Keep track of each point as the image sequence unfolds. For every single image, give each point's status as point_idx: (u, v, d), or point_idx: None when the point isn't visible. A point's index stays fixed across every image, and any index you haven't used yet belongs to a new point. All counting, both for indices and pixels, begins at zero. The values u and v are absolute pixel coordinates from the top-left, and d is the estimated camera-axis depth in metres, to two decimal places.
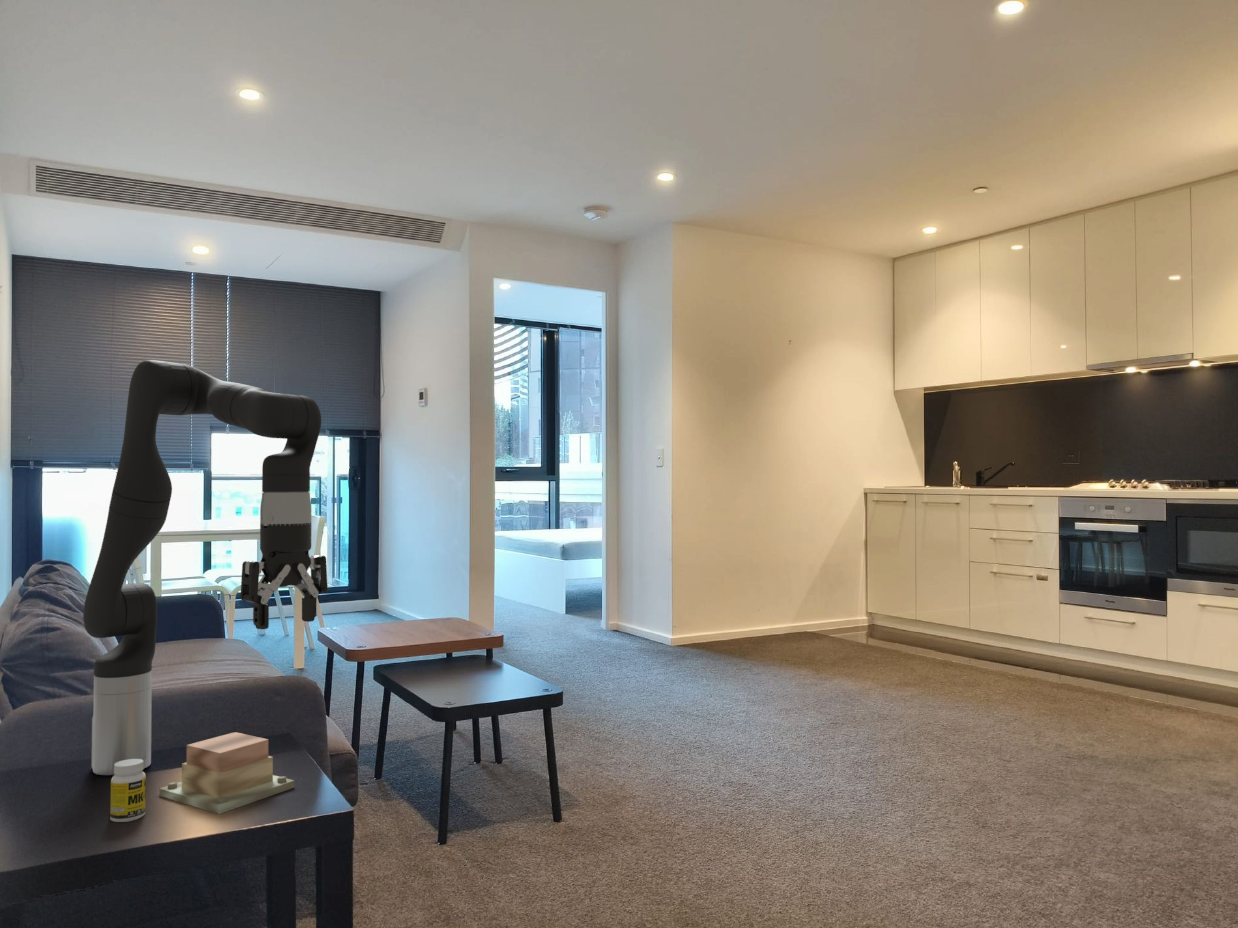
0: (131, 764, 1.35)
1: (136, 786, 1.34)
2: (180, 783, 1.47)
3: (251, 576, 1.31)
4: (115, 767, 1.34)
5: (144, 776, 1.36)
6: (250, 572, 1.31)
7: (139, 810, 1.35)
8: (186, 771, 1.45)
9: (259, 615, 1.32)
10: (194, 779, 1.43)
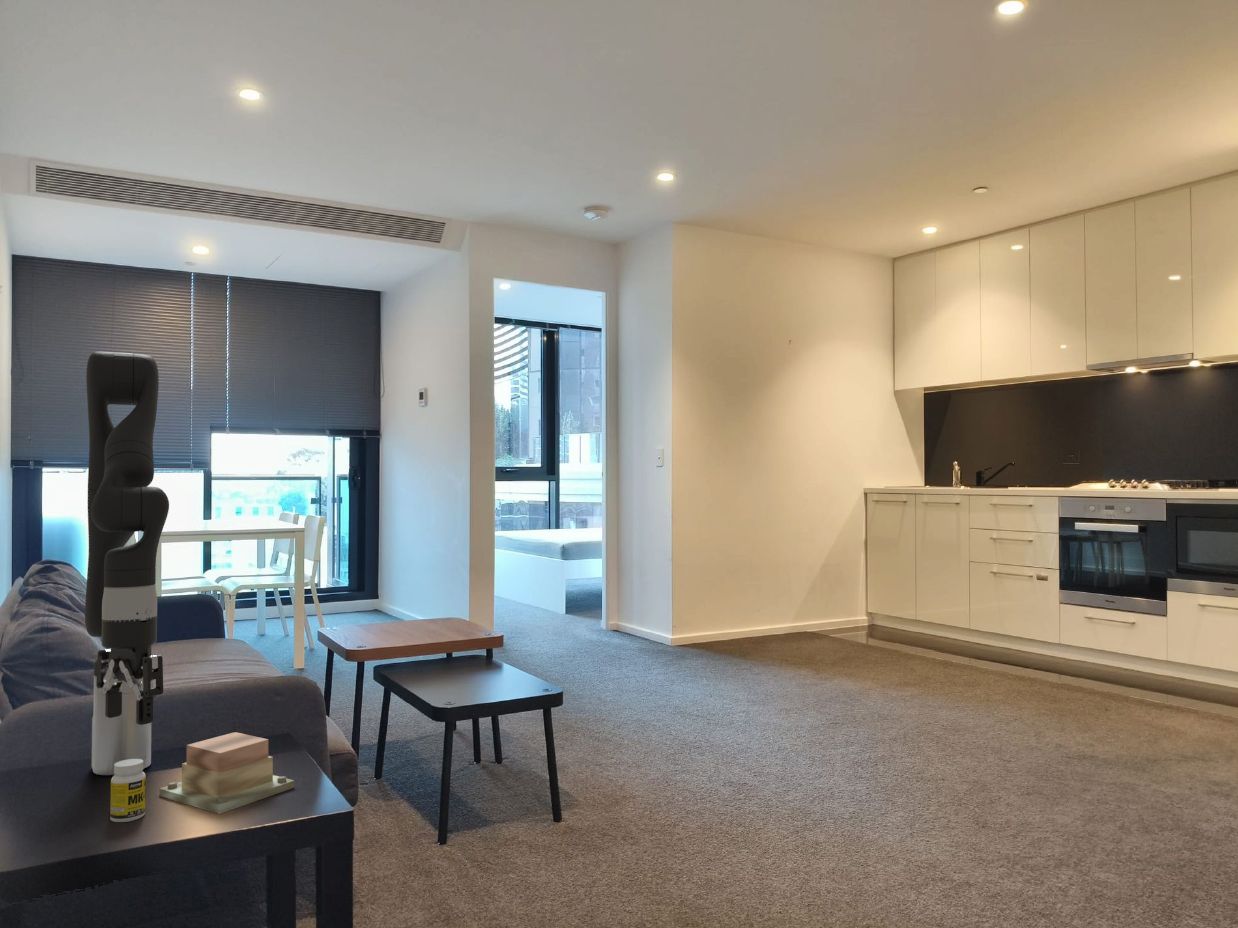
0: (131, 764, 1.35)
1: (136, 786, 1.34)
2: (180, 783, 1.47)
3: (161, 669, 1.34)
4: (115, 767, 1.34)
5: (144, 776, 1.36)
6: (161, 666, 1.33)
7: (139, 810, 1.35)
8: (186, 771, 1.45)
9: (152, 709, 1.34)
10: (194, 779, 1.43)
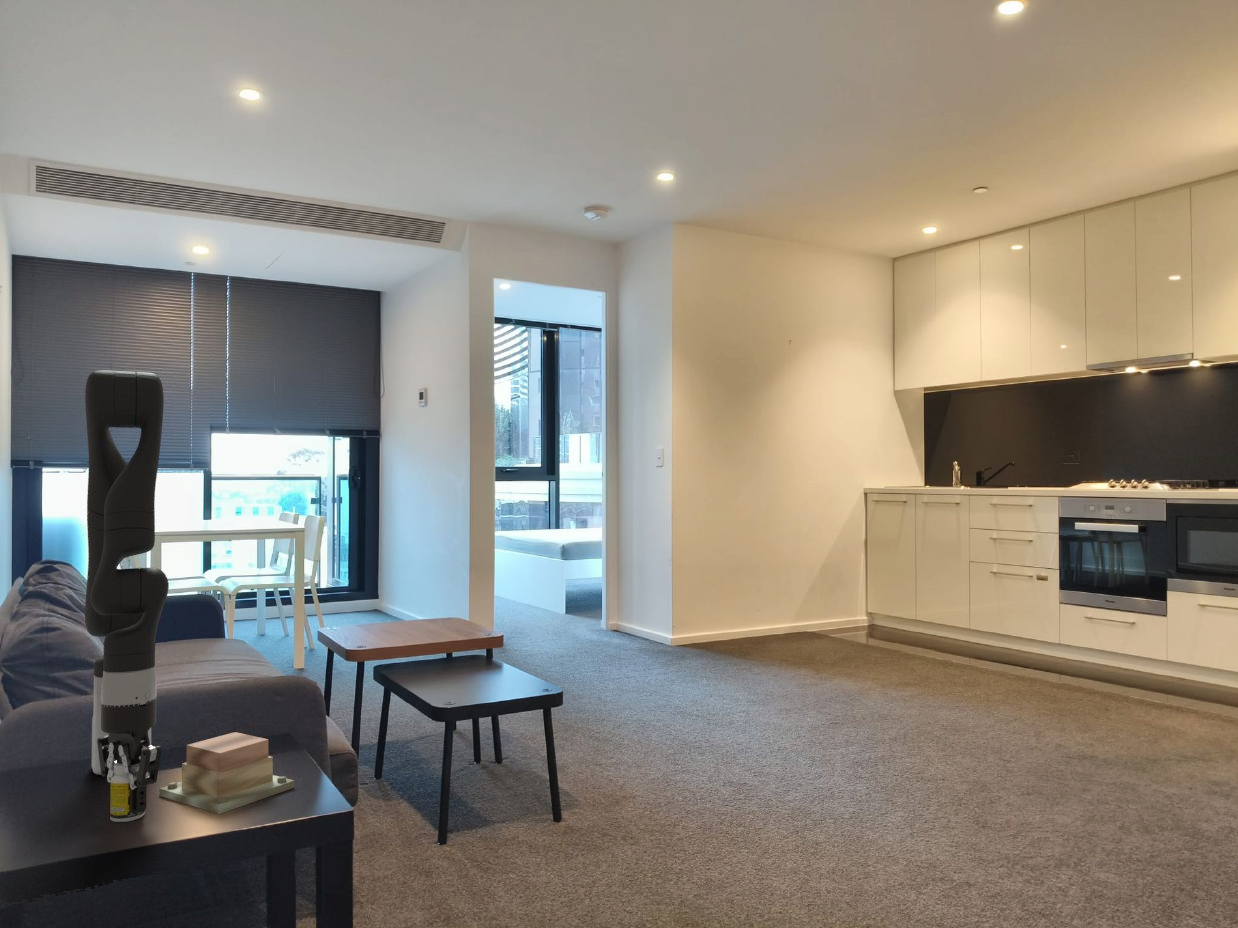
0: None
1: None
2: (180, 783, 1.47)
3: (158, 761, 1.33)
4: (115, 767, 1.34)
5: None
6: (158, 758, 1.33)
7: None
8: (186, 771, 1.45)
9: (145, 797, 1.34)
10: (194, 779, 1.43)
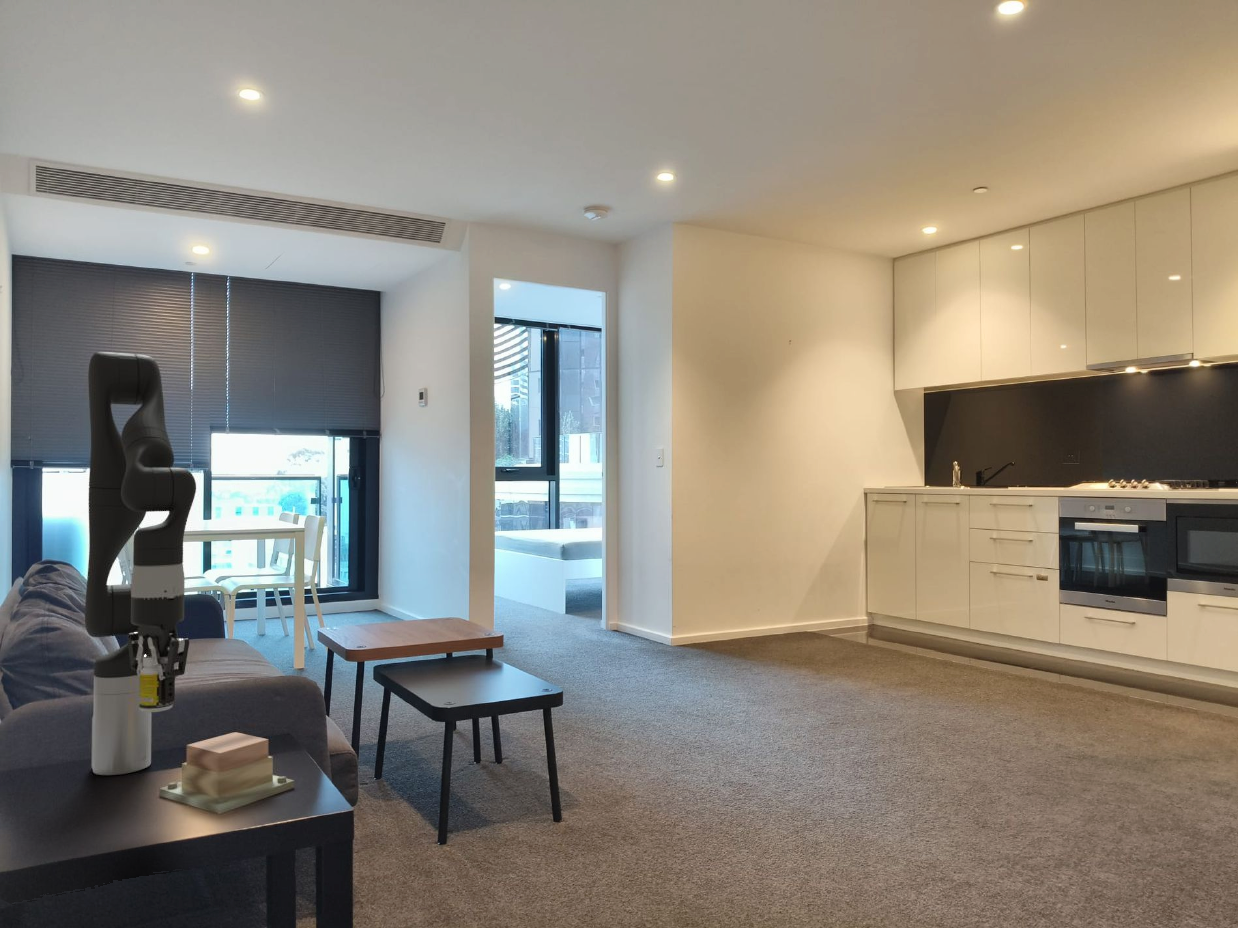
0: None
1: None
2: (180, 783, 1.47)
3: (186, 653, 1.37)
4: (144, 659, 1.38)
5: None
6: (186, 650, 1.37)
7: None
8: (186, 771, 1.45)
9: (174, 688, 1.38)
10: (194, 779, 1.43)
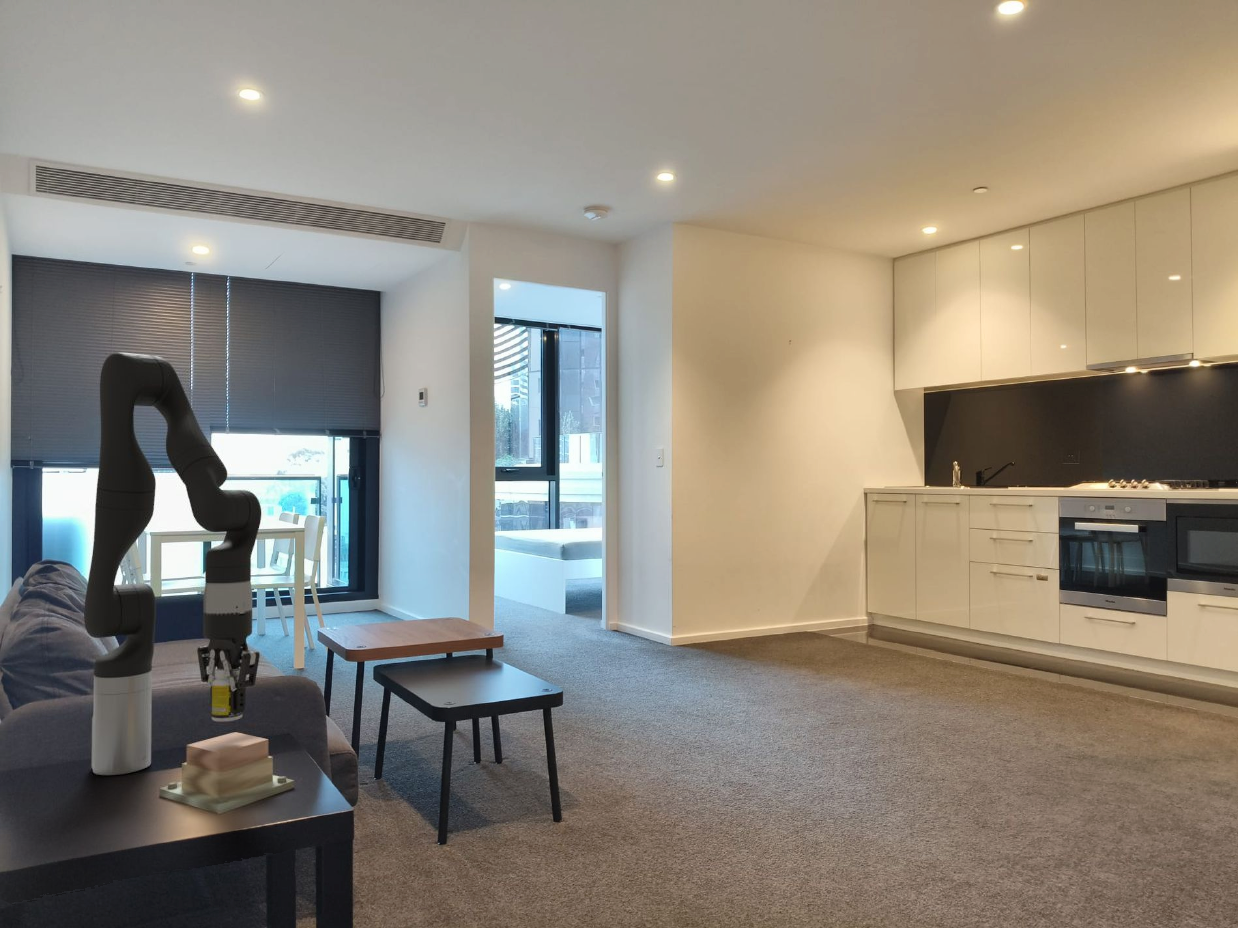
0: None
1: None
2: (180, 783, 1.47)
3: (257, 665, 1.45)
4: (216, 671, 1.46)
5: None
6: (257, 662, 1.45)
7: None
8: (186, 771, 1.45)
9: (244, 699, 1.46)
10: (194, 779, 1.43)
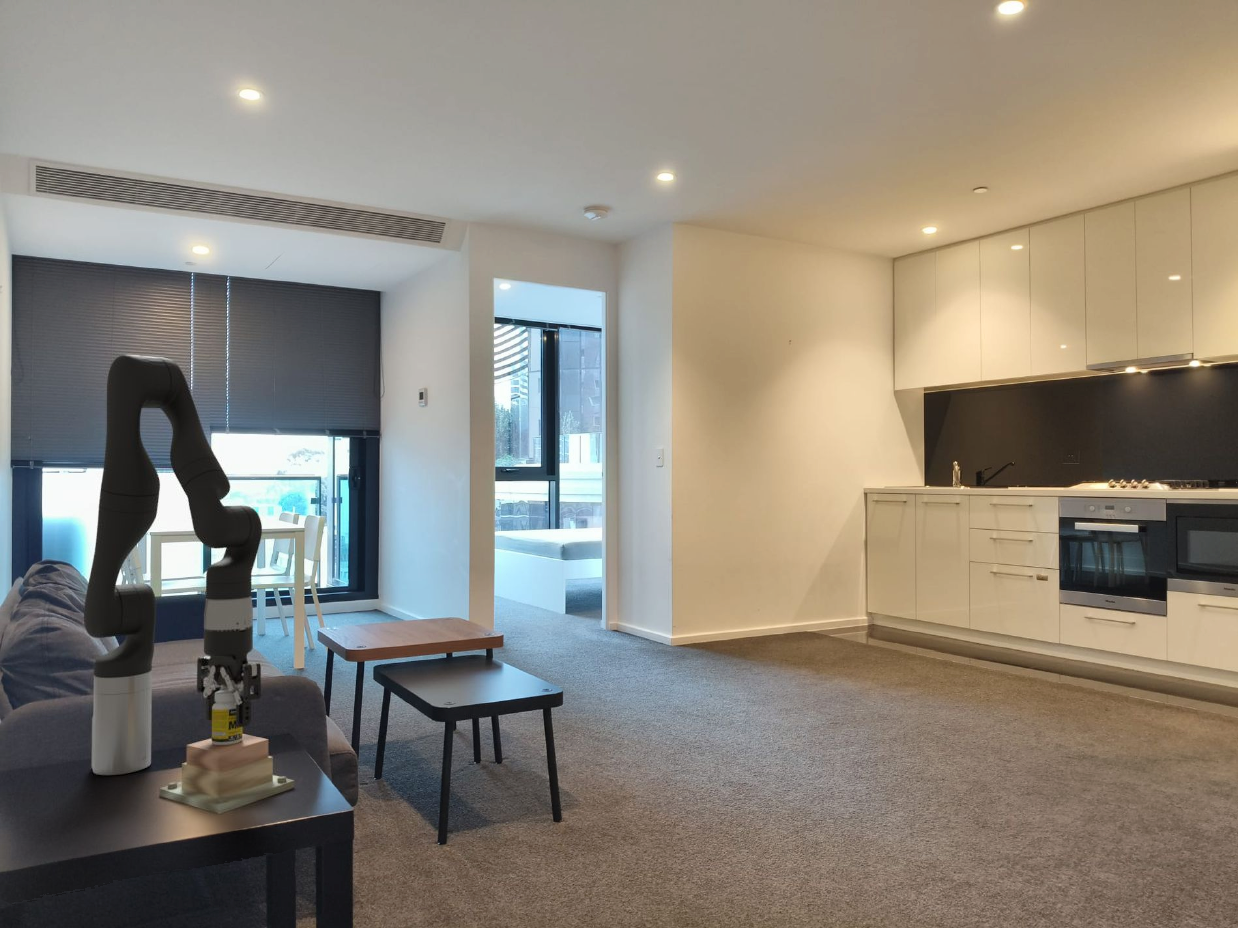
0: (230, 693, 1.46)
1: (235, 712, 1.46)
2: (180, 783, 1.47)
3: (259, 676, 1.45)
4: (216, 695, 1.46)
5: None
6: (259, 673, 1.45)
7: (238, 735, 1.46)
8: (186, 771, 1.45)
9: (250, 712, 1.45)
10: (194, 779, 1.43)
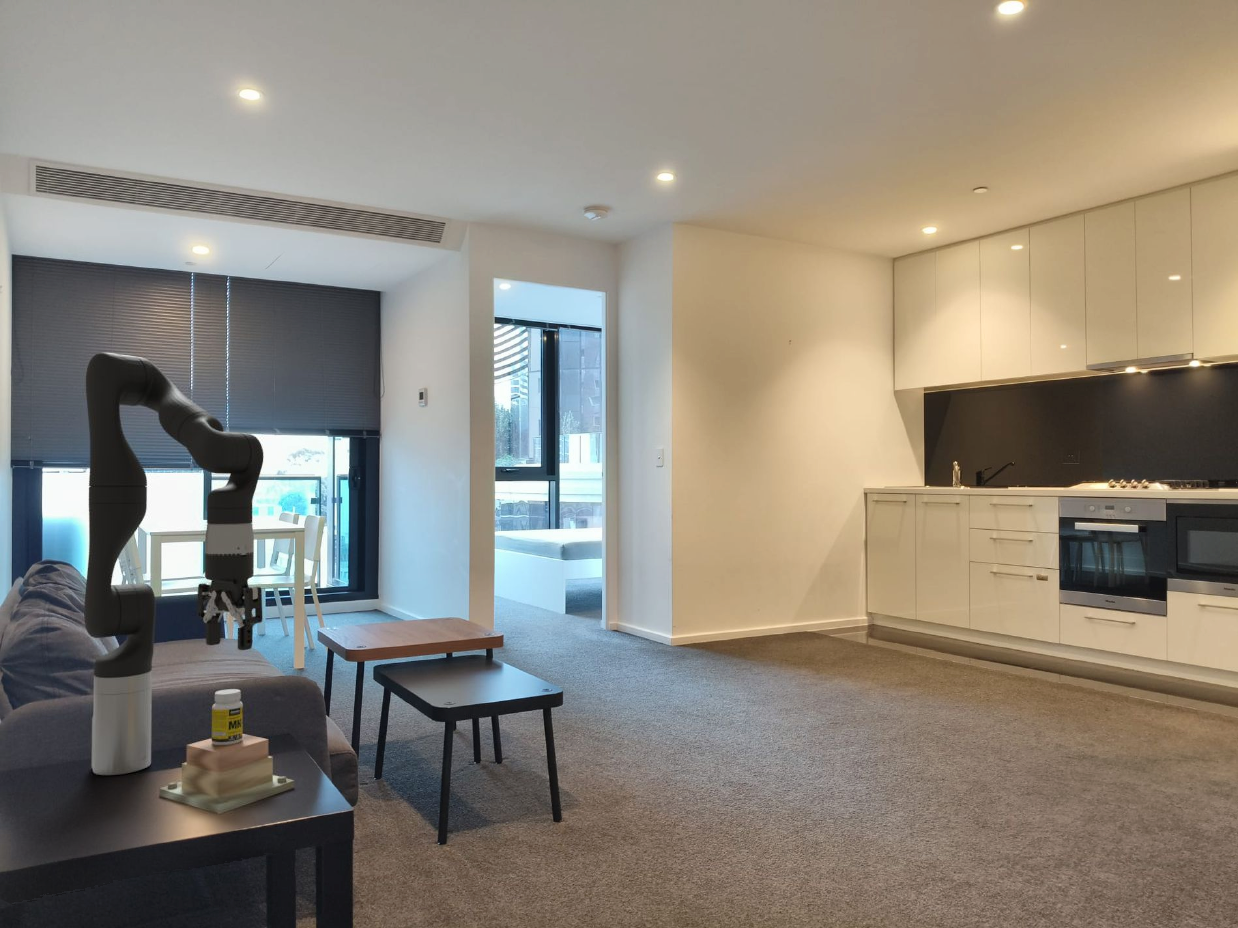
0: (230, 693, 1.46)
1: (235, 712, 1.46)
2: (180, 783, 1.47)
3: (261, 600, 1.45)
4: (216, 695, 1.46)
5: (242, 704, 1.48)
6: (260, 596, 1.45)
7: (238, 735, 1.46)
8: (186, 771, 1.45)
9: (251, 636, 1.45)
10: (194, 779, 1.43)
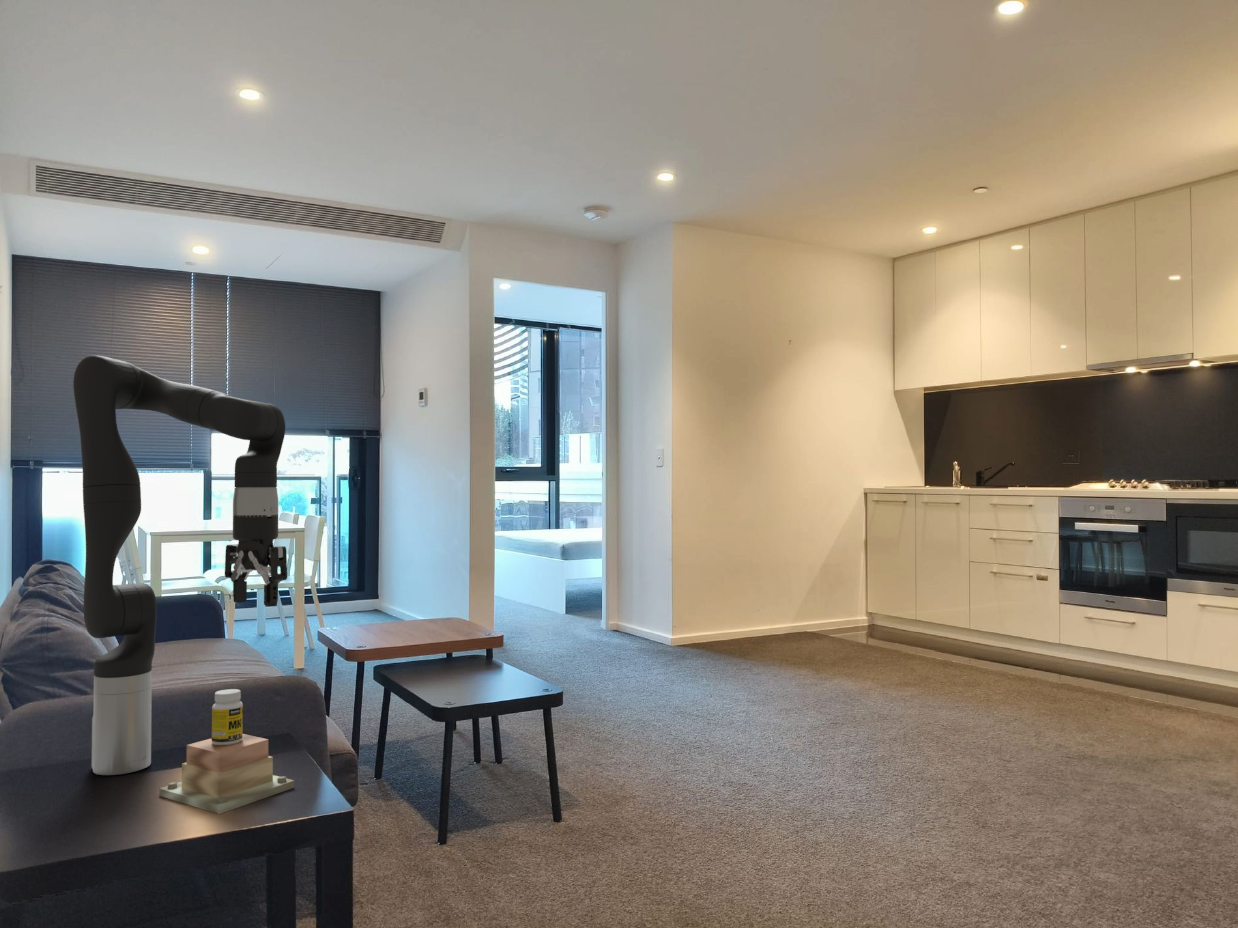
0: (230, 693, 1.46)
1: (235, 712, 1.46)
2: (180, 783, 1.47)
3: (285, 558, 1.54)
4: (216, 695, 1.46)
5: (242, 704, 1.48)
6: (285, 555, 1.54)
7: (238, 735, 1.46)
8: (186, 771, 1.45)
9: (277, 593, 1.54)
10: (194, 779, 1.43)
